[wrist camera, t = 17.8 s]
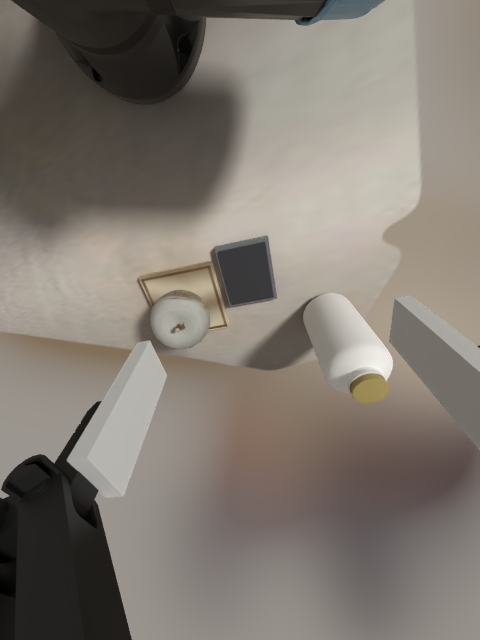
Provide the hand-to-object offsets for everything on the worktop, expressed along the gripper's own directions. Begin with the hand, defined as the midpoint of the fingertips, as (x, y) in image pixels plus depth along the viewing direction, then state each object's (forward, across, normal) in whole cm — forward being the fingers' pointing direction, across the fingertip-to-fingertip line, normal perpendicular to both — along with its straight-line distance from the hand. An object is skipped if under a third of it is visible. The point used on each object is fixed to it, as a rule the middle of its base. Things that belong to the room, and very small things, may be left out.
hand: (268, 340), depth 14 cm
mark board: (+27, -13, -9) cm, 31 cm away
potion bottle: (+27, +10, -16) cm, 33 cm away
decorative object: (+26, -13, -9) cm, 30 cm away
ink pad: (+27, -2, -6) cm, 27 cm away
